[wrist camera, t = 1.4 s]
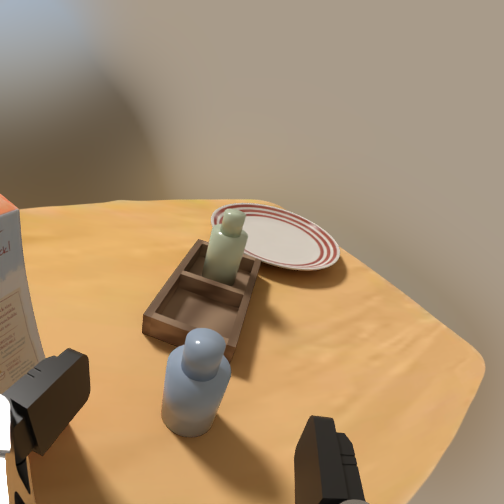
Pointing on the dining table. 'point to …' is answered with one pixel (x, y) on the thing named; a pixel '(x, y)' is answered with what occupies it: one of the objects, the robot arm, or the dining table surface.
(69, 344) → the dining table surface
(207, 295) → the caddy
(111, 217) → the dining table surface
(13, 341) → the cracker box
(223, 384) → the blue bottle
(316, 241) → the dinner plate
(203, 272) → the green bottle
